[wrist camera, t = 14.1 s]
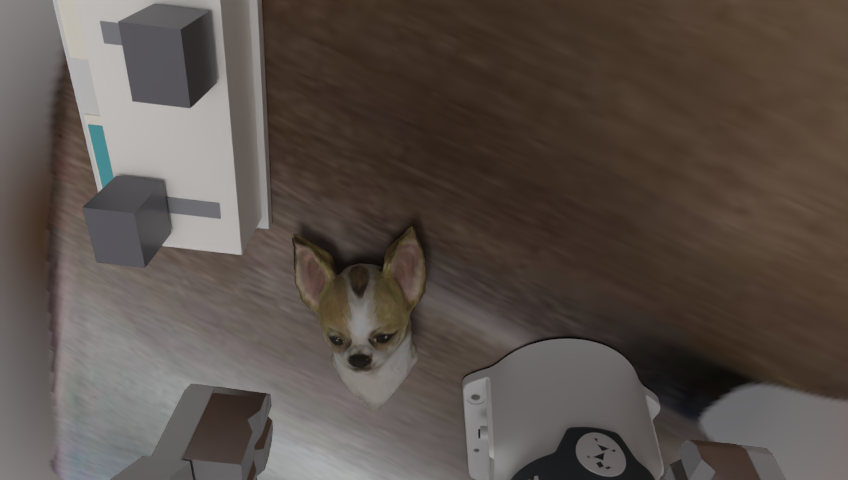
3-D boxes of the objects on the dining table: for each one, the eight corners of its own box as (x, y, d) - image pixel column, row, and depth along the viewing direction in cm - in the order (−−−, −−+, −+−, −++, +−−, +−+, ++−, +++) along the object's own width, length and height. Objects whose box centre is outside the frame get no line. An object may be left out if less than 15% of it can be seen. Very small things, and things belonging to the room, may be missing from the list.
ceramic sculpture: (307, 431, 47) (262, 278, 39) (327, 358, 54) (293, 217, 47) (438, 426, 46) (418, 268, 38) (440, 352, 53) (424, 208, 46)
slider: (171, 232, 39) (145, 267, 36) (127, 227, 39) (96, 262, 36) (162, 181, 37) (134, 213, 34) (116, 175, 37) (82, 207, 34)
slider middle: (217, 82, 33) (190, 108, 30) (165, 76, 33) (132, 101, 30) (210, 10, 31) (180, 29, 28) (154, 3, 31) (117, 21, 28)
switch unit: (272, 222, 46) (249, 267, 41) (108, 203, 46) (65, 246, 41) (247, -299, 29) (202, -331, 24) (-15, -335, 29) (-117, -375, 24)
